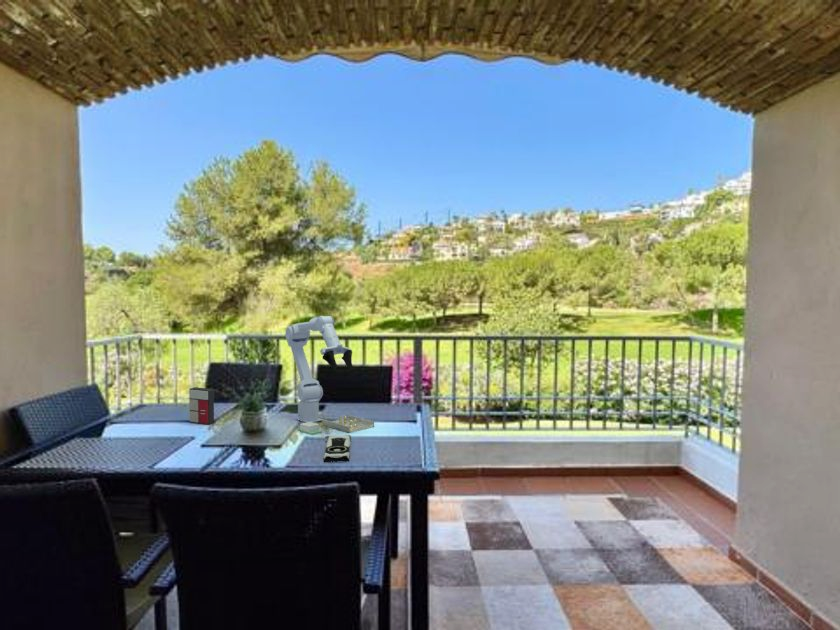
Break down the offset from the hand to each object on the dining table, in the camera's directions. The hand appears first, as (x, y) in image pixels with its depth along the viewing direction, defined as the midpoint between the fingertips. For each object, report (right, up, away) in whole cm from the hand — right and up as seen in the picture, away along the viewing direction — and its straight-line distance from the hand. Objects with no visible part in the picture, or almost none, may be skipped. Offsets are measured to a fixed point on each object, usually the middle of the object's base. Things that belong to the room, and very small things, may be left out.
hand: (343, 368), depth 232 cm
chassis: (0, -26, +14) cm, 30 cm away
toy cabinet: (-64, -26, +18) cm, 71 cm away
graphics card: (+1, -29, -22) cm, 37 cm away
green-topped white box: (-14, -27, +5) cm, 31 cm away
